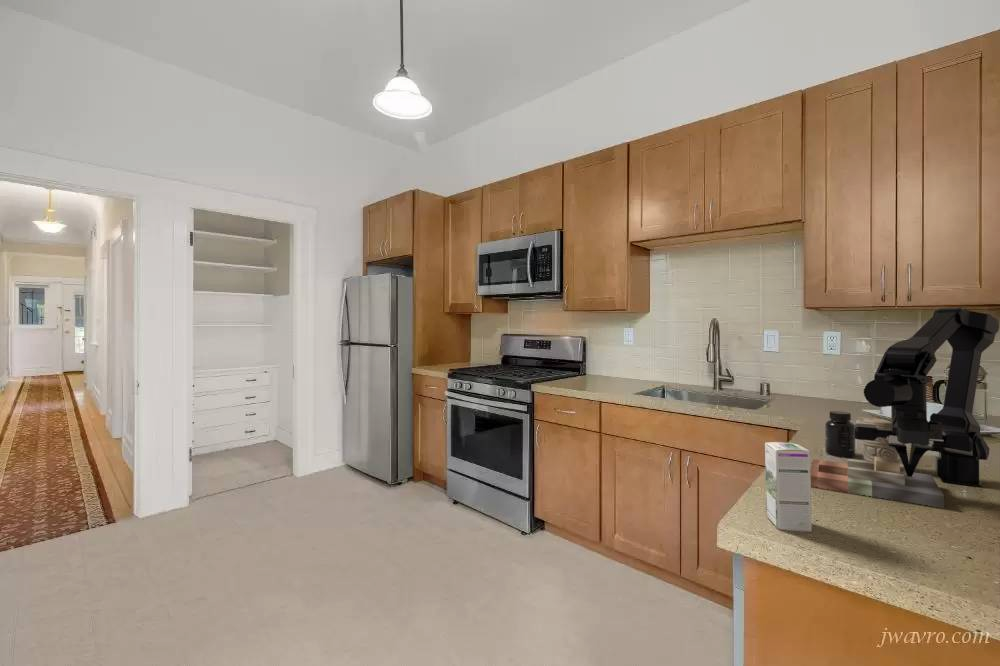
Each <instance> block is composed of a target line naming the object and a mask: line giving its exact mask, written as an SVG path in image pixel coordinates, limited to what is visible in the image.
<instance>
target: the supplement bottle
mask: <svg viewBox="0 0 1000 666" xmlns="http://www.w3.org/2000/svg"><path fill="white" fill-rule="evenodd" d="M828 417H829V420H827V421H826V422H825V427H824V428H825V429H824V432H825V433H824V434H825V437H824V438H825V439H824V441H825V444H824V445H825V446H824V447H825V448H824V449H825V450H824V452H825V453H826V454H827V455H830V456H833V457H837V458H846V459H851V458H854V457H855V456H856V439H855V437H854V425H855V424H854V423H853V422H851V420H852V415H851V412H848V411H843V410H830V411H829V416H828Z"/></svg>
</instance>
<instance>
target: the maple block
mask: <svg viewBox="0 0 1000 666" xmlns="http://www.w3.org/2000/svg"><path fill="white" fill-rule="evenodd" d="M874 464H875V470H876V471H883V472H891V473H898V474H900V466H901V463H900V461H899V459H892V458H883V457H875V456H874Z"/></svg>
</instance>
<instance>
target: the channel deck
mask: <svg viewBox="0 0 1000 666" xmlns="http://www.w3.org/2000/svg"><path fill="white" fill-rule="evenodd" d="M810 476H811V488H815V487H818V488H817V489H821V488H824V489H823V490H827V489H829V491H833V490H835V491H834V492H839V491H841V492H840V493H845V492H846V493H845V494H851V493H852V494H851V495H857V494H858V496H863V495H865V496H864V497H869V496H871V497H870V498H875V497H877V499H881V498H884V499H883V500H887V499H890V500H889V501H894V500H897V501H896V502H900V501H902V503H906V502H909V503H908V504H912V503H915V504H914V505H918V504H922V505H921V506H924V505H928V506H927V507H930V506H933V507H932V508H936V507H939V508H938V509H942V508H943V509H944V510H945V495H944V493H943V491H942V490H941V488H940V487H939V486H938V483H937V482H936V480H935V479H934V477H933V475H932V474H927V473H919V472H914V473H913V475H912V476H907V474H906V471H905V470H904V471H903V470H902V466H901V465H900V474H898V473H891V472H883V471H876V470H875V464H874V462H868V461H865V460H860V459H859V460H858V459H851V458H847V462H846V463H844V462H838V461H831V460H830V461H829V460H823V459H815V458H814V459H813V458H812V460H811V464H810Z"/></svg>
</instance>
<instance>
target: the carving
mask: <svg viewBox="0 0 1000 666" xmlns="http://www.w3.org/2000/svg"><path fill="white" fill-rule="evenodd" d="M861 424H872V425H876V427H877V429H885V430H892V425H891V421H889V420H887V419H883V418H877V417H876V418H874V417H873V418H864V419H863V420H862V421H861ZM859 442H860V447H861V449H860V450H861V455H862V456H863V459H864V461H868V462H874V456H875V457H883V458H892V459H898V457H899V454H898V452H897V451H896V449H895V447H891V446H888V444H887V442H886V438H881V437H877V438H876V439H875V440H874V441H869V440H859ZM898 460H899V459H898Z"/></svg>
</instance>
